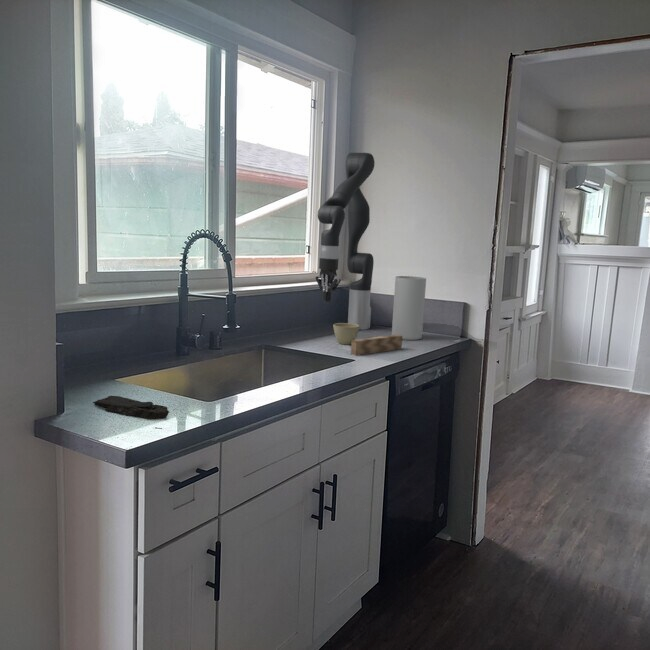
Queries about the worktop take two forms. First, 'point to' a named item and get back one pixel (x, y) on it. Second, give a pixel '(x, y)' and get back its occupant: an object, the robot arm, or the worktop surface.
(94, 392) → the worktop surface
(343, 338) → the flower pot
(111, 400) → the wood
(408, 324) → the cylinder vase
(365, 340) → the board
